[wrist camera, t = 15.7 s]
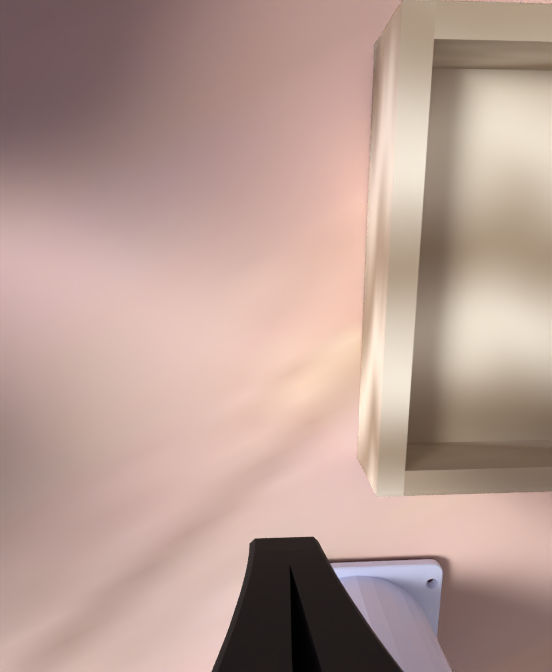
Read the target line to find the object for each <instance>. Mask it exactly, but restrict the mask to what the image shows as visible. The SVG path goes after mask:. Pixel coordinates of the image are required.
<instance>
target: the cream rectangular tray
mask: <svg viewBox="0 0 552 672" xmlns="http://www.w3.org/2000/svg"><path fill="white" fill-rule="evenodd" d="M357 458H358V460H359V462H360V464H361V466H362V468H363V470H364V472H365V474H366V476H367V478H368V480H369V482H370V485H371V487H372V489H373V491H374V493H375V495H376V497H382V496H414V495H447V494H479V493H511V492H544V491H552V4H542V3H508V2H474V1H441V0H402V2H401V3H400V5H399V6H398V8H397V10H396V11H395V13H394V14H393V16H392V18H391V19H390V21H389V22H388V24H387V26H386V27H385V29H384V30H383V32H382V34H381V35H380V37H379V38H378V40H377V42H376V43H375V48H374V72H373V95H372V119H371V143H370V167H369V190H368V214H367V238H366V262H365V285H364V309H363V333H362V357H361V380H360V404H359V428H358V452H357Z"/></svg>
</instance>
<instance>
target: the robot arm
mask: <svg viewBox="0 0 552 672" xmlns="http://www.w3.org/2000/svg"><path fill="white" fill-rule="evenodd" d="M442 578H443V569H442V568H441V566H440V564H439V563H438V562H437V561H436V560H433V559H421V560H396V561H370V562H344V563H329V561H328V559H327V557H326V555H325V553H324V552H323V550H322V548H321V546H320V544H319V542H318V541H317V540H316V539H315V538H314V537H290V538H260V539H254V540H253V541H252V542H251V543H250V547H249V558H248V564H247V569H246V573H245V577H244V581H243V585H242V589H241V592H240V596H239V599H238V602H237V605H236V608H235V611H234V614H233V617H232V620H231V623H230V626H229V629H228V632H227V634H226V637H225V640H224V642H223V645H222V647H221V650H220V652H219V655H218V657H217V660H216V662H215V665H214V667H213V670H212V672H452V670H451V668H450V666H449V664H448V662H447V659H446V657H445V655H444V653H443V651H442V649H441V647H440V644H439V642H438V640H437V633H438V622H439V611H440V600H441V589H442ZM429 579H433V580H432V581H431V582H427V581H428V580H429Z"/></svg>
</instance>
